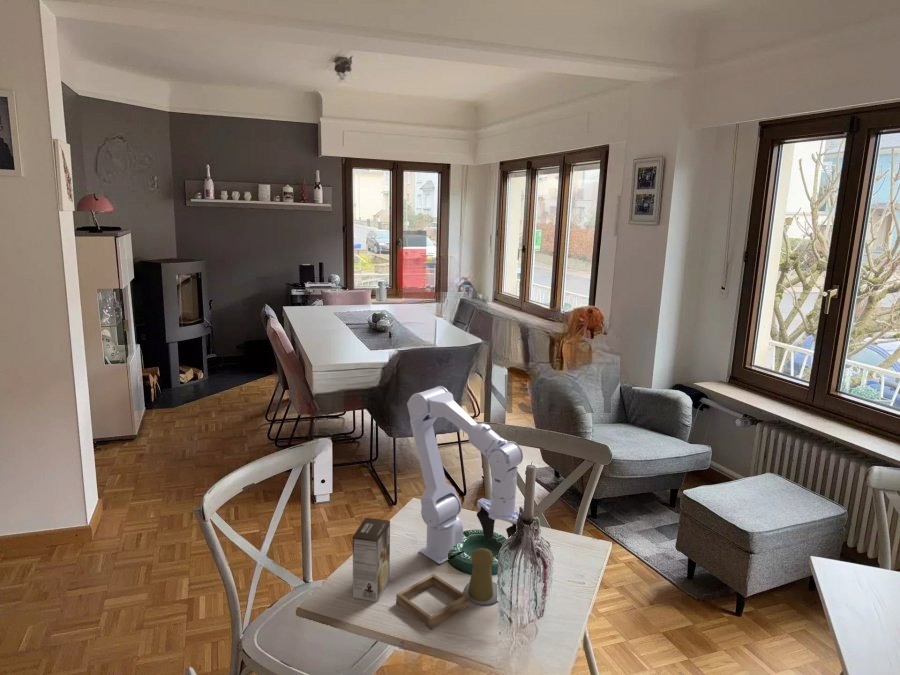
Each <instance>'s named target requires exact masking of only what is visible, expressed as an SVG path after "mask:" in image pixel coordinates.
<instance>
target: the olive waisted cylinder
mask: <svg viewBox="0 0 900 675" xmlns="http://www.w3.org/2000/svg"><path fill="white" fill-rule="evenodd" d="M470 559H471V563H472V569H471V575H470V580H469V582H470V584H469V589H468V595H469V596H470V598H472V599H473V600H476V601H487V600H490V599H491V598H492V597H493V583H492V582H493V576H492V575H493V574H492V572H493V571H492V565H493V563H494V559H495V558H494V554H493V552H492V551H491V550H490V549H488V548H486V547H479V548H475V549H474V551H472V553H471V557H470Z"/></svg>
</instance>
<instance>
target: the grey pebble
mask: <svg viewBox="0 0 900 675" xmlns="http://www.w3.org/2000/svg"><path fill="white" fill-rule="evenodd" d="M492 583H493V597H492V598H491V599H490V600H487V601H476V600H473V599H472V598H470V596H469V595H468V589H469V584H470V581H469V582H468V583H466V585H465V586H464V591H463V594H465V595H466V596H468V601H469V602H470V603H473V604H475V605H479V606H490V605H491V606H492V605H495V604H497V603H498V602H497V585H498V584H497V583H496V582H494V581H492Z"/></svg>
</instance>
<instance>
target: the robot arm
mask: <svg viewBox="0 0 900 675" xmlns="http://www.w3.org/2000/svg"><path fill="white" fill-rule="evenodd" d="M406 406H407V409H408V410H407V411H408V414H409V418H410V420H409V423H410V427H411V431H412V432H411V433H412V436H413V439H414V443H415V448H416V451H417V452H416V453H417V457H418V459H419V464H420V465H419V466H420V469H421V473H422V475H423V476H422V477H423V481H424V483H425V485H424V486H425V490H424V492H423V494H422V496H421V498H420V503H421V504H420V505H421V510H420V514H421V518H422V520H423V522H424V523H425V525H426V545H425V546H423V547H422V548H420V549H419V551H418V552H419V553H421V554H422V555H424V556H426V557H427V558H429V559H430V560H432V561H434V562H435V563H437V564H439V565H441V564H442V563H443V564H444V562H447V561H448V560H449V559H448V553H449V551H450V550H451V549H452V548H453V546H454V545H456V544H458V543H461V542H464V540H463V539H464V525H463V522H462V520H461V519H460V517H458V515H459V514H461V511H462V502H461V499H460V498H459V496H458V495H457V492H456V488H455V487H454V486H452V485H450V484H448V483H447V480H446V475H445V470H444V466H443V462H442V459H441V458H442V457H441V454H440V450H439V446H438V442H437V438H436V434H435V430H434V429H435V428H434V423H435V422H436V420H437V418H445V419H447V420H448V421H449V422H451V424H453V425H455V426H456V427H457V428H458V429H460V430H461V431H463V432H464V433H465V434H467V436H468V437H467V438H468V442H469V443H470V444H471V445H472V447H474V448H476V449H477V451H479V452H480V453H481V454H483V456H484V457H486V458H487V461H488V462H487V463H488V465H489V468H490V470H491V471H490V475H491V493H490V494H491V495H490V499H486V498H483V497H482V498H480V499H478V500H476V501H477V502H476V503H477V504H476V508H478V509H479V511H478V512H476V517H477V518H478V521H479V522H480V525H481V527H482V532H483V536H484V540H485V541H489V540H491V539H493V537H494V530H495V522H496V520H500V521H502V522H507V523H510V524H511V526H509V527H507V528H505V531H506V534H507V539H508V538H509V537H510V536H511V535H513V534H514V533H515V532H516V522H517V519H518V516H519V514H520V512H518V511H517V510H516V509H515V508H516V494H517V483H518V482H517V481H518V480H517V478H518V466H519V465H520V464H521V463H522V461H523V460H524V453H523V451H522V448H521V447H520V445H518V444H517V442H515V441H513V440H512V441H511V440H510V441H509V440H507V439H504V438H503V437H501V436H500V434H498V433H496V431H494V430H493V429H492V428H491V426H490V425H489V424H486V423H483V422H482V423H477V422H476V421H475V420H474V419H473V418H472V417H471V416H470V415H469V414H468V413H467V412H466V411H465V410H464V409H463V407H461V406H460V405H459V404H458V403H457V401H455V400H454V395H453V393H452V392H451V391H449V390H448V389H447V388H446V387H444V386H443V385H438V386H435V387H433V388H430V389H426V390H425V391H421V392H415V393H413V394H412V395H411V396H410V397H409V399H408V401H407V402H406Z"/></svg>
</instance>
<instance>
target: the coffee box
mask: <svg viewBox="0 0 900 675" xmlns="http://www.w3.org/2000/svg"><path fill="white" fill-rule="evenodd" d="M390 542H391V520H388V519H379V518H373V517H371V518H370V517H364V519H363V520H362V522H361V524H360V525H359V527H358V528H357V530H356V531H355V533H354V534H353V535H352V598H353V599H359V600H365V601H371V602H379V600H380V599H381V597H382V595H383V593H384V591H385V589H386V587H387V585H388V583H389V581H390V574H391V573H390V572H391V571H390V568H391V567H390V566H391V565H390V562H391V560H390V558H391V557H390V556H391V553H390V552H391V547H390V546H391V544H390Z"/></svg>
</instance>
